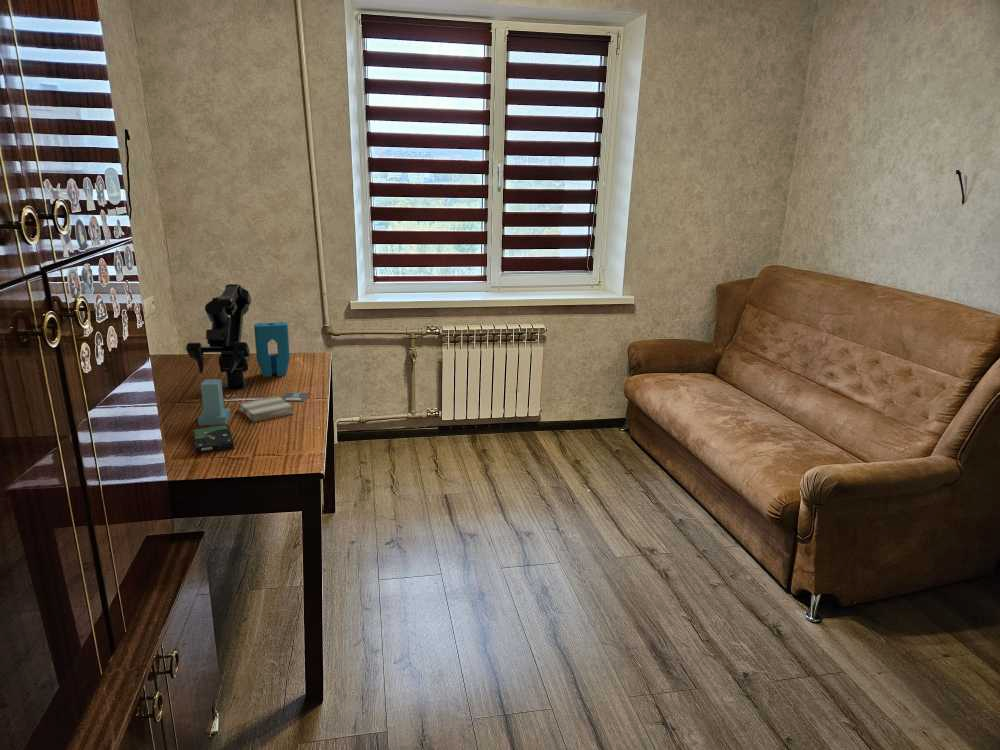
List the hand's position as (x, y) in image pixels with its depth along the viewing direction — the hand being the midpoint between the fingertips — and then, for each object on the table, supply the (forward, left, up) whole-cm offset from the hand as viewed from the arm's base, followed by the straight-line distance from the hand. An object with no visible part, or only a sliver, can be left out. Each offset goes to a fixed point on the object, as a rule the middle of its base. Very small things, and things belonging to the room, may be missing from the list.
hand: (216, 372), depth 215 cm
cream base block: (-1, +15, -14) cm, 21 cm away
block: (-41, +7, -14) cm, 43 cm away
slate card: (-15, +21, -14) cm, 29 cm away
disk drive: (+24, +6, -14) cm, 29 cm away
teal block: (+7, +1, -14) cm, 16 cm away
